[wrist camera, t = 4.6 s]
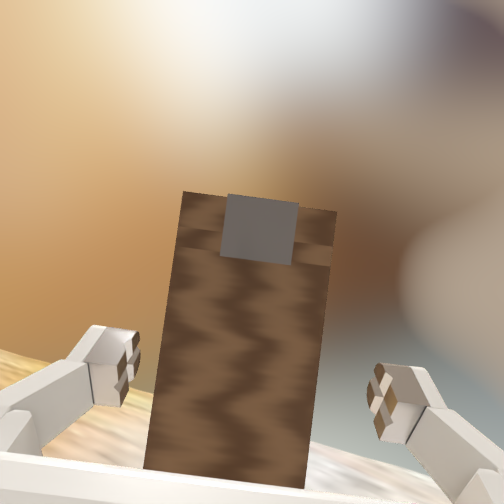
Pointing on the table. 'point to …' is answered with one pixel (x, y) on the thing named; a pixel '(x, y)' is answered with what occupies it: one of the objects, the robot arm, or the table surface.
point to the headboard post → (239, 353)
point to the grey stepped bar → (259, 229)
